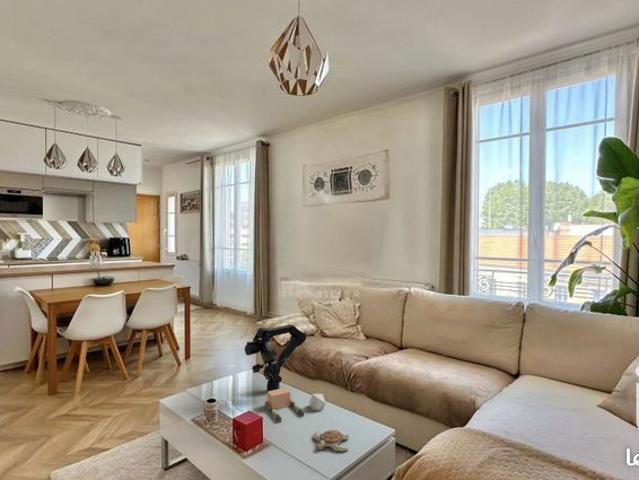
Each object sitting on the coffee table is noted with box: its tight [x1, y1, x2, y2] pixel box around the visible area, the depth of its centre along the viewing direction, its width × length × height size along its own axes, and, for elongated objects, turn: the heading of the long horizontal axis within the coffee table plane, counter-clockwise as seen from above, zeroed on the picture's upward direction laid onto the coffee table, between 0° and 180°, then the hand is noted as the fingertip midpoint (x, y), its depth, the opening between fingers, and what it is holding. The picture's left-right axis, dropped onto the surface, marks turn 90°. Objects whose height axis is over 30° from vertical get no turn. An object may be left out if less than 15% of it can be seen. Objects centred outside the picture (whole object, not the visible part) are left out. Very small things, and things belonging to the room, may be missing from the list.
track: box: [264, 398, 305, 424], centre depth 182 cm, size 19×13×4 cm
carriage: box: [266, 387, 291, 411], centre depth 188 cm, size 6×10×7 cm, turn 119°
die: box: [308, 393, 327, 411], centre depth 186 cm, size 8×9×10 cm
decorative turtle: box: [312, 429, 350, 452], centre depth 157 cm, size 18×17×5 cm
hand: (274, 379), depth 195 cm, fingers closed
